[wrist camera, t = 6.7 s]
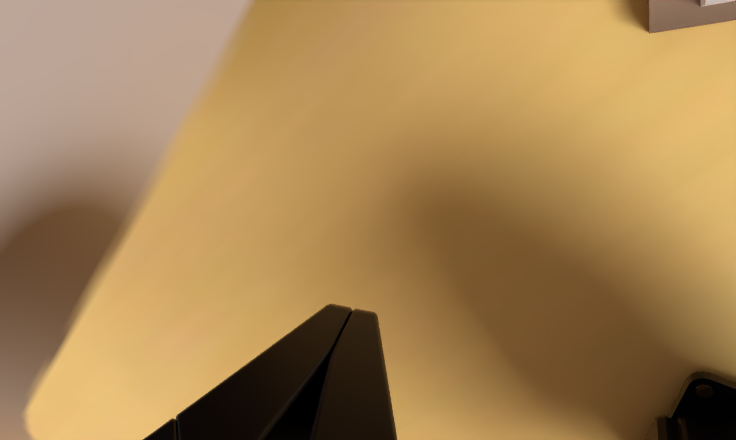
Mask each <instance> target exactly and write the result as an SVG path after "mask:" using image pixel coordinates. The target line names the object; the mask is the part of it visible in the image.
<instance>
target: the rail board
mask: <svg viewBox="0 0 736 440" xmlns="http://www.w3.org/2000/svg"><path fill="white" fill-rule="evenodd" d="M648 5H649V33H656V32H662V31H668V30H675V29H681V28H688V27H694V26H700V25H707V24H713V23H720V22H726V21H732V20H736V0H648Z"/></svg>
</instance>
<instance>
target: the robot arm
mask: <svg viewBox="0 0 736 440" xmlns="http://www.w3.org/2000/svg"><path fill="white" fill-rule="evenodd" d="M702 384H704V385H708V386H710V387H711V388H710V389H709V390H707V391H701V390H698V389H697V388H696V387H697V386H698V385H702ZM143 440H397V435H396V429H395V422H394V416H393V410H392V404H391V397H390V391H389V385H388V379H387V372H386V366H385V360H384V354H383V348H382V341H381V335H380V329H379V323H378V317H377V314H376V313H374V312H370V311H365V310H360V309H355V310H353V311H352V309H351V308H349V307H345V306H340V305H335V304H329V305H327V306H325V307H324V308H322V309H321V310H320V311H318V312H317V313H316V314H314V315H313V316H312V317H310V318H309V319H307V320H306V321H305V322H303V323H302V324H301V325H299V326H298V327H297V328H295V329H294V330H292V331H291V332H290V333H288V334H287V335H286V336H284V337H283V338H282V339H280V340H279V341H277V342H276V343H275V344H273V345H272V346H271V347H269V348H268V349H267V350H265V351H264V352H262V353H261V354H260V355H258V356H257V357H256V358H254V359H253V360H252V361H250V362H249V363H247V364H246V365H245V366H243V367H242V368H241V369H239V370H238V371H237V372H235V373H234V374H232V375H231V376H230V377H228V378H227V379H226V380H224V381H223V382H222V383H220V384H219V385H217V386H216V387H215V388H213V389H212V390H211V391H209V392H208V393H207V394H205V395H204V396H202V397H201V398H200V399H198V400H197V401H196V402H194V403H193V404H192V405H190V406H189V407H187V408H186V409H185V410H183V411H182V412H181V413H179V414H178V415H177V416H176V420H175V419H171V420H169V421H168V422H167V423H165V424H164V425H163V426H161V427H160V428H158V429H157V430H156V431H154V432H153V433H152V434H150V435H149V436H147V437H146V438H144V439H143ZM645 440H736V383H734V382H732V381H729V380H726V379H724V378H721V377H718V376H716V375H713V374H710V373H706V372H696V373H693V374H691V375H690V376H689V377H688V378H687V380H686V382H685V384H684V386H683V388H682V390H681V392H680V394H679V396H678V398H677V399H676V401H675V403H674V405H673V407H672V409H671V411H670V413H669V415H668V416H666V415H663V416H660V417H658V418H656V419H655V421H654V423H653V425H652V427H651V429H650V431H649V433H648V435H647V437H646V439H645Z"/></svg>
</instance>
